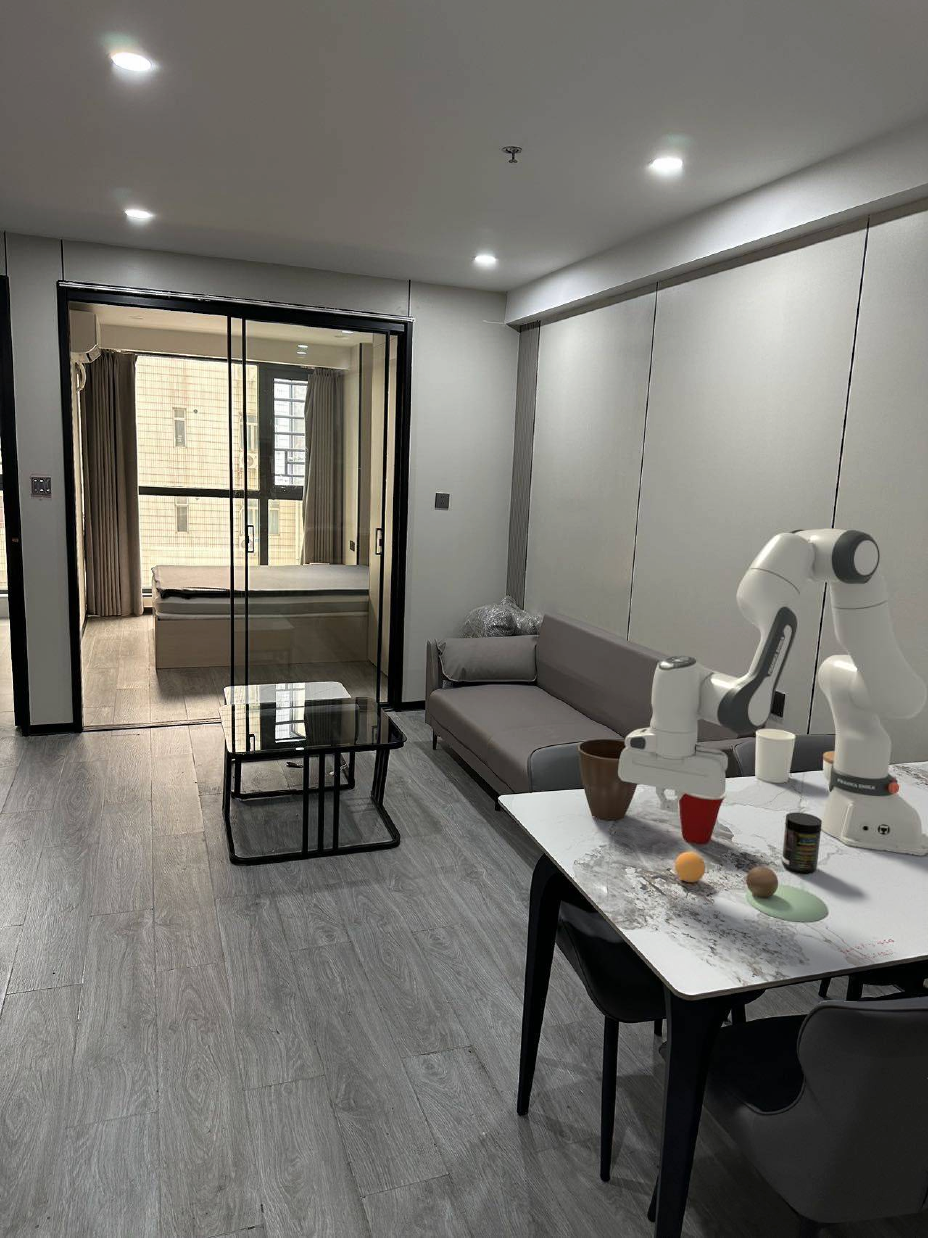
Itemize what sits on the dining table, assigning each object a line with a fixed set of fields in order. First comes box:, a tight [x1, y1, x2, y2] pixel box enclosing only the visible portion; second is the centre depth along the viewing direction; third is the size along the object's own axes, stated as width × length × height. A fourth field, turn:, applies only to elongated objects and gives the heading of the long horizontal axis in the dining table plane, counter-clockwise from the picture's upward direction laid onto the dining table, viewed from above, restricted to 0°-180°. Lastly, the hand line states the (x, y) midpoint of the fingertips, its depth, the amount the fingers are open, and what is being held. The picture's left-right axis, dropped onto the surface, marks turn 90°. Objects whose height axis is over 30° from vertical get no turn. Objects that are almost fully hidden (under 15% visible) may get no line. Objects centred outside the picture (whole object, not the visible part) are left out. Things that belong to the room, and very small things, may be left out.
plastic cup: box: [678, 789, 728, 845], centre depth 183 cm, size 11×11×12 cm
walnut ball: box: [745, 865, 779, 898], centre depth 159 cm, size 6×6×6 cm
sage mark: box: [745, 883, 828, 923], centre depth 157 cm, size 14×14×1 cm
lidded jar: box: [822, 750, 835, 783], centre depth 221 cm, size 11×11×9 cm
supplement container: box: [781, 812, 822, 875], centre depth 171 cm, size 7×7×10 cm
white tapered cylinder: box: [754, 728, 796, 784], centre depth 225 cm, size 10×10×12 cm
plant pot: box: [577, 738, 638, 822], centre depth 194 cm, size 15×15×16 cm
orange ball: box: [674, 851, 706, 883], centre depth 164 cm, size 6×6×6 cm
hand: (669, 810), depth 166 cm, fingers closed
